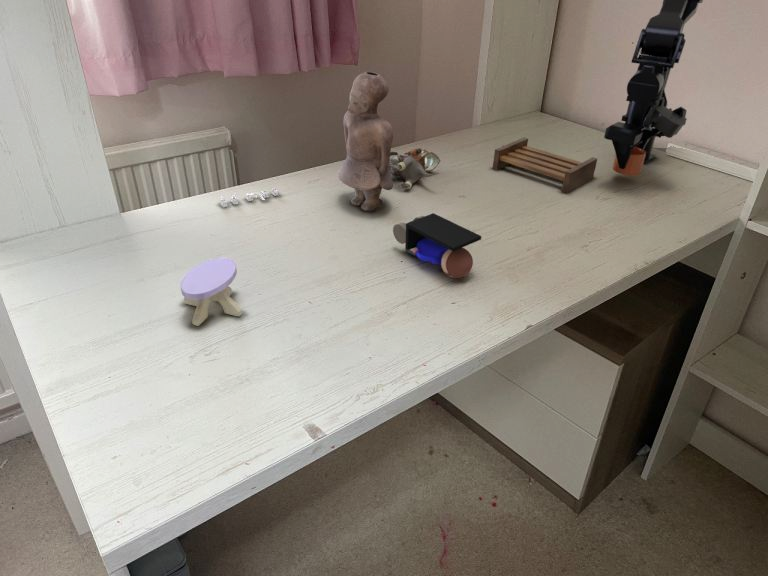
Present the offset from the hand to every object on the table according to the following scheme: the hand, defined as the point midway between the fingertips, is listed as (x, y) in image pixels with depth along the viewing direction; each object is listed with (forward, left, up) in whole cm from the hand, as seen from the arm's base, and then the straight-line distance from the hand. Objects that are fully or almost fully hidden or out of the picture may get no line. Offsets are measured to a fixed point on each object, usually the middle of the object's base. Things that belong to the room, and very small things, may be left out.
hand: (627, 164), depth 132 cm
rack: (+10, -14, -4) cm, 18 cm away
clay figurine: (+50, -30, -4) cm, 58 cm away
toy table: (+91, -21, -4) cm, 93 cm away
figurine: (+32, -34, -4) cm, 47 cm away
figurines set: (+65, -47, -4) cm, 80 cm away
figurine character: (+58, -7, -4) cm, 58 cm away
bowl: (0, 0, -1) cm, 1 cm away
